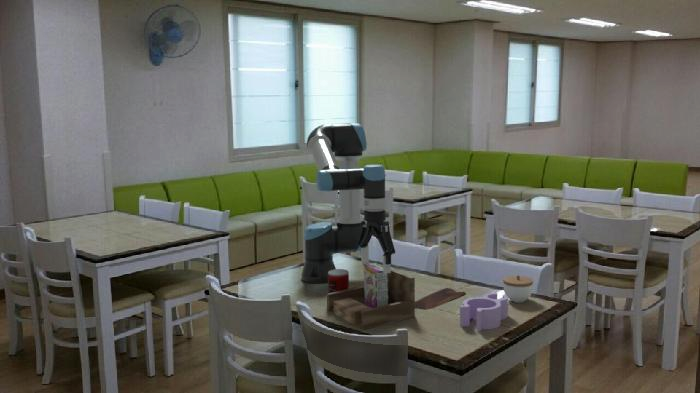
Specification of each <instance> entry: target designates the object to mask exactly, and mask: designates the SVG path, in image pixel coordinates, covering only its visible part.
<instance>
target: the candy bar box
mask: <svg viewBox="0 0 700 393" xmlns="http://www.w3.org/2000/svg"><path fill="white" fill-rule="evenodd" d="M378 264H379V263H377V264H376V262H372V263H369V264H364V266H363V286H364V295H365V303H364V305H366V306H368V307H370V308H375V307H380V306H384V305H388V273H387V274H383V268H382V267H381V266H379V265H378Z"/></svg>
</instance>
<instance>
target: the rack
mask: <svg viewBox="0 0 700 393" xmlns="http://www.w3.org/2000/svg"><path fill="white" fill-rule="evenodd" d="M375 263H376V262H375ZM376 264H378V265H379V266H381V267H382V268H383V264H381V263H380V264H379V263H376ZM415 278H416V277H414V276H412V275H409V274H406V273H404V272H401V271H399V270H395V269H393V268H391V273H388V305H384V306H380V307H375V308H371V309H367V310H363V311H361V324H360V325H361V326H360V327H361V329H362V330H367V329H372V328H376V327H379V326H382V325H386V324H391V323H394V322H399V321H402V320H406V319H410V318H415V316H416V308H415V301H416V298H415V297H416V296H415V295H416V293H415V292H416V290H415V289H416V287H415V286H416V285H415V284H416V282H415V281H416V280H415ZM348 298H352V299H354V300H356V301H358V302H360V303H362V304H365V295H364V285H361V286H357V287H352V288H349V289H347V290H342V291H337V292H332V293H329V292H328V293H326V310H327V311H330V310H331V311H334V310H333V309H334V301H338V300H343V299H348Z"/></svg>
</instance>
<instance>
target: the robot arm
mask: <svg viewBox="0 0 700 393" xmlns="http://www.w3.org/2000/svg"><path fill="white" fill-rule="evenodd" d="M306 148H307V150H308V153H309V154H310V155H312V156H313V159H314V162H315V165H316V168H317V171H316V177H315V180H316V182H315V183H316V188H317V190H318V191H320V192H335V191H336V192H338V193H339V197H338V198H339V199H338V200H339V218H337V220H336V221H335V222H336V223H335V224H336V225H333V224H332V223H331V222H330V221H325V222H324V221H321V222H316V223H312V224H309V225H307V226H306V227H305V228H304V232H303V234H304V235H303V236H304V237H303V239H304V263H303V268H302V271H301V280H302V281H303V282H305V283H310V284H324V283H325V284H326V283H327V284H328V272H329V271H331V270H334V269H337V267H336V266H335V262H334V260H333V258H334V257H333V255H334V254H345V253H358V252H360V257H361V258H360V260H361V262H360V263H361V267H364V264H370V263H369V262H370V258H369V257H370V256H369V255H370V254H369V243H370V241H371V239H372V237H374V238H375V239H376V240H377V241H378V243H379V245H380V248H381V250H382V251H383V254H382V266H383V274H387V273H391V269H392V266H391V265H392V255H394V254H396V249H395V245H394V242H393V240H392V235H391V231H390V226H389V225H384V222H385V221H386V218H387V217H386V216H387V215H386V213H387V212H386V210H385V209H386V208H387V206H386V176H387V175H386V171H385V166H384V165H382V164H367V165H364V166H363V167H360V160H361V158H362V157H363V153H365V151H367V137H366V133H365V130H364V127H363V126H362V124H360V123H356V122H355V123H354V122H353V123H352V122H347V123H346V122H345V123H326V124H320V125H319V126H317V127H315V128H314V129H313V130H311V132H310V133H309V135H308V137H307V139H306ZM337 161H338V162H337ZM361 190H363V208H364V211H363V218H362V217H361V198H360V196H361V194H360V191H361Z"/></svg>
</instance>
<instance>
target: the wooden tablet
mask: <svg viewBox="0 0 700 393" xmlns="http://www.w3.org/2000/svg"><path fill="white" fill-rule="evenodd" d="M466 294H467V293H466V292H465V291H456V289H453V288H451V287H450V288H449V287H445V288H442V289H439V290H438V291H435V292H432V293H430V294H428V295H426V296H424V297H422V298H419V299H417V300H415V310H417V309H418V310H423V311H427V310H430V309H434V308H437V307H439V306H441V305H444V304H445V303H446V304H447V303H448V302H451V301H453V300H456V299H457V298H460V297H463V296H465V295H466Z"/></svg>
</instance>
